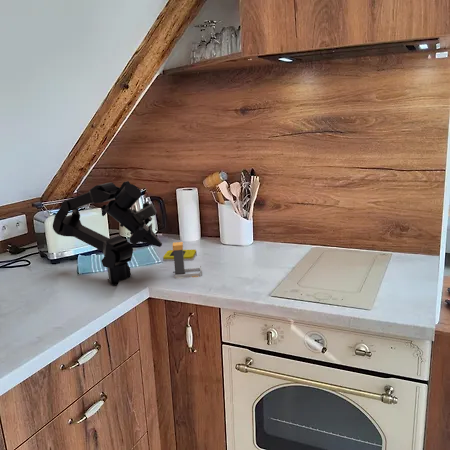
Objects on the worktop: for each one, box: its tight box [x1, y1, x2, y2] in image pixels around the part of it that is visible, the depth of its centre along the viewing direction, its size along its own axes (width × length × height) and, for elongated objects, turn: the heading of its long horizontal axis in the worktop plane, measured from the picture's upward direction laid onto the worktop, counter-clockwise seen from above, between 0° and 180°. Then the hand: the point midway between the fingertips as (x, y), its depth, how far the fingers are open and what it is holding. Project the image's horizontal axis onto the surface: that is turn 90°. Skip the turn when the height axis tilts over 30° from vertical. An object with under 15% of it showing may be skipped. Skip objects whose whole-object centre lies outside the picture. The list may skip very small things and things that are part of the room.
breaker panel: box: [172, 265, 203, 279], centre depth 156 cm, size 10×7×3 cm, turn 94°
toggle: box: [172, 241, 186, 276], centre depth 154 cm, size 3×4×11 cm
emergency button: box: [162, 249, 201, 262], centre depth 175 cm, size 9×4×15 cm
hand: (161, 245), depth 153 cm, fingers closed
